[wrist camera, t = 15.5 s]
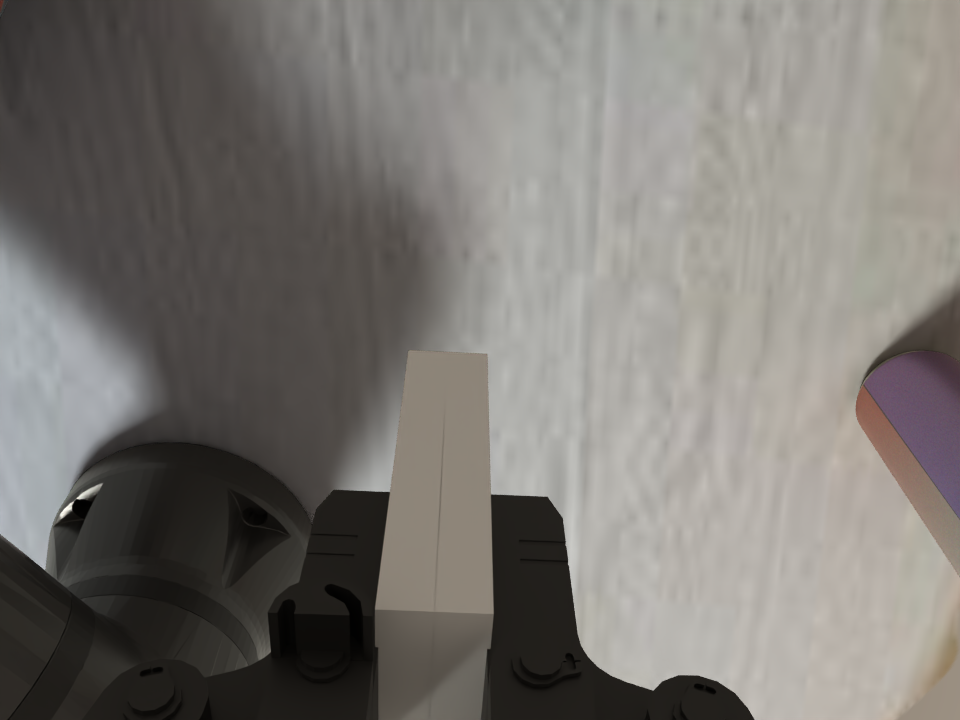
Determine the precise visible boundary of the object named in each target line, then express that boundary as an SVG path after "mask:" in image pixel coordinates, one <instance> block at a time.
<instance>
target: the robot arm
mask: <svg viewBox="0 0 960 720" xmlns="http://www.w3.org/2000/svg"><path fill="white" fill-rule="evenodd" d="M565 543H566V541H565V533H564V525H563V518H562V517H561V515H560V514H559V512H558V511H557V510H556V508H555V507H554V505H553V504H552V503H551V501H550V500H549V498H548V497H538V496H514V495H491V483H490V442H489V400H488V359H487V354H479V353H458V352H437V351H416V350H408V358H407V366H406V373H405V381H404V389H403V396H402V404H401V412H400V420H399V427H398V435H397V443H396V450H395V458H394V466H393V474H392V481H391V489H390V492H372V491H348V490H333V491H332V492H331V493H330V495H329V496H328V497H327V498H326V499H325V500H324V501H323V503H322V504H321V505H320V506H319V507H318V508H317V509H316V512H315V516H314V520H313V525H311V522H310V520H309V518H308V516H307V514H306V512H305V511H304V509H303V507H302V506H301V505H300V503H299V502H298V501H297V499H296V498H295V497H294V496H293V495H292V493H291V492H290V491H289V490H288V489H287V488H286V487H285V486H283V485H282V484H281V483H280V482H279V481H278V480H276V479H275V478H274V477H273V476H271V475H270V474H268V473H267V472H265V471H264V470H262V469H261V468H259V467H257V466H256V465H254V464H252V463H250V462H248V461H246V460H244V459H242V458H239V457H237V456H235V455H232V454H229V453H227V452H223V451H220V450H217V449H213V448H209V447H204V446H199V445H192V444H182V443H157V444H148V445H142V446H137V447H133V448H129V449H126V450H123V451H120V452H117V453H115V454H112V455H110V456H108V457H106V458H104V459H103V460H101V461H99V462H98V463H96V464H95V465H93V466H92V467H91V468H89V469H88V470H87V471H86V472H85V473H84V474H83V475H82V476H81V477H80V478H79V479H78V481H77V482H76V483H75V485H74V486H73V488H72V490H71V491H70V493H69V494H68V496H67V498H66V499H65V501H64V503H63V504H62V506H61V508H60V509H59V511H58V513H57V515H56V517H55V519H54V522H53V525H52V528H51V531H50V536H49V543H48V552H47V561H46V569H45V570H44V569H42V568H41V567H40V566H39V565H38V564H36V563H35V562H34V561H33V560H31V559H30V558H29V557H28V556H27V555H25V554H24V553H23V552H22V551H20V550H19V549H18V548H17V547H15V546H14V545H13V544H12V543H11V542H9V541H8V540H7V539H6V538H4V537H3V536H2V535H1V534H0V720H754V718H753V716H752V715H751V713H750V711H749V710H748V708H747V707H746V706H745V705H744V703H743V702H742V701H741V700H740V699H739V697H738V696H737V695H736V694H735V693H734V692H732V691H731V690H729V689H728V688H726V687H725V686H723V685H722V684H720V683H719V682H717V681H714V680H710V679H707V678H704V677H701V676H688V675H678V676H676V677H673V678H670V679H668V680H665V681H662V682H661V683H660V684H659V686H658V687H657V688H656V689H655V690H654V691H652V690H649V689H646V688H643V687H640V686H636V685H633V684H630V683H627V682H624V681H622V680H620V679H617V678H615V677H612V676H610V675H609V674H607V673H606V672H604V671H603V670H601V669H600V668H598V667H597V666H596V665H595V664H594V663H593V662H592V661H591V660H590V659H589V658H588V657H587V655H586V653H585V652H584V650H583V648H582V647H581V644H580V641H579V637H578V634H577V626H576V618H575V611H574V603H573V595H572V587H571V580H570V572H569V566H568V556H567V548H566V546H565Z"/></svg>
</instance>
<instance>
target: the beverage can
mask: <svg viewBox="0 0 960 720" xmlns="http://www.w3.org/2000/svg"><path fill="white" fill-rule="evenodd" d="M856 416H857V420H858V422H859V424H860V426H861V428H862V429H863V431H864V432H865V434H866V435H867V437H868V438H869V440H870V441H871V443H872V444H873V446H874V447H875V449H876V450H877V452H878V453H879V455H880V457H881V458H882V460H883V461H884V463H885V464H886V466H887V467H888V469H889V470H890V472H891V473H892V475H893V476H894V478H895V479H896V481H897V482H898V484H899V486H900V487H901V489H902V490H903V492H904V493H905V495H906V496H907V498H908V499H909V501H910V502H911V504H912V505H913V507H914V508H915V510H916V511H917V513H918V515H919V516H920V518H921V519H922V521H923V522H924V524H925V525H926V527H927V528H928V530H929V531H930V533H931V534H932V536H933V537H934V539H935V540H936V542H937V544H938V545H939V547H940V548H941V550H942V551H943V553H944V554H945V556H946V557H947V559H948V560H949V562H950V563H951V565H952V566H953V568H954V569H955V571H956V572H957V574H958V576H959V577H960V363H959V362H958V361H957V360H956V359H954V358H952V357H951V356H949V355H946V354H943V353H940V352H934V351H911V352H905V353H902V354H898V355H896V356H893V357H891V358H889V359H887V360H885V361H884V362H882V363H881V364H880V365H878V366H877V367H876V368H875V369H874V370H872V372H871V373H870V374H869V375H868V376H867V377H866V379H865V380H864V382H863V384H862V386H861V388H860V390H859V393H858V397H857V401H856Z"/></svg>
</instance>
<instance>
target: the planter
mask: <svg viewBox="0 0 960 720" xmlns="http://www.w3.org/2000/svg"><path fill="white" fill-rule="evenodd" d="M7 1H8V0H0V18H1V15H2V13H3V11H4V9H5V6H6V3H7Z"/></svg>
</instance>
